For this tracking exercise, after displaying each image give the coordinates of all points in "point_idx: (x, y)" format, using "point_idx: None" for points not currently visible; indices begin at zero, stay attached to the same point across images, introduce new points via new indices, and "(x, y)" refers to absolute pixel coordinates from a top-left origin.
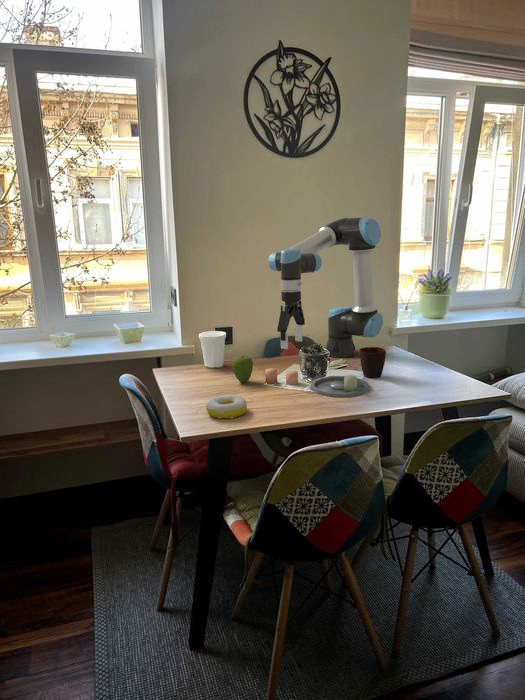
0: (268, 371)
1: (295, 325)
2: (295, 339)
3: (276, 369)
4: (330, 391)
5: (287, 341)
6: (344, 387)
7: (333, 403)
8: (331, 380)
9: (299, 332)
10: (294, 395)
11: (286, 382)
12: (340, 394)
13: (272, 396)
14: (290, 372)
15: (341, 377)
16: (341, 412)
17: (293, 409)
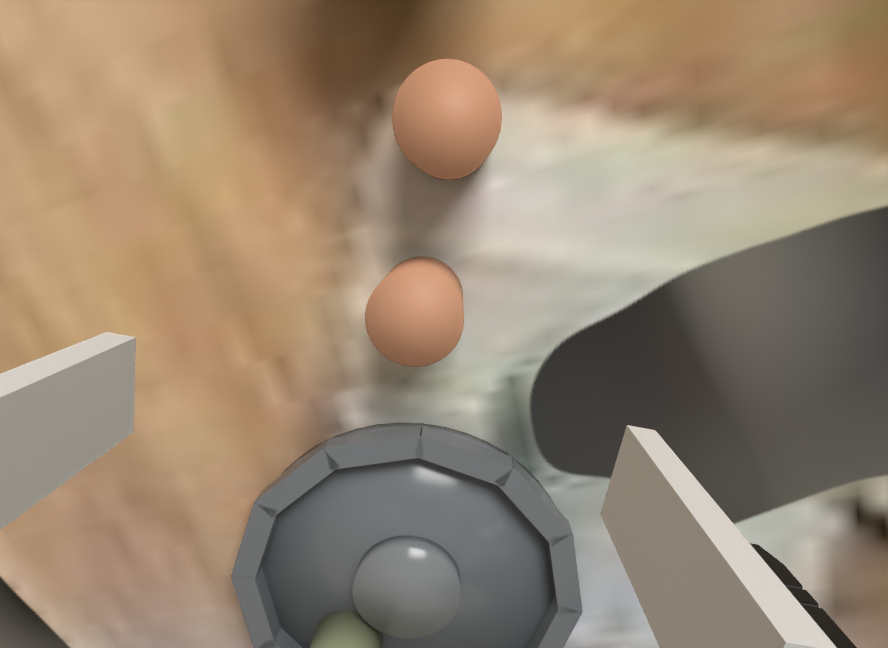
0: (395, 108)
1: (775, 640)
2: (635, 436)
3: (472, 164)
4: (322, 548)
5: (32, 491)
6: (323, 637)
7: (190, 570)
8: (529, 525)
9: (661, 589)
10: (240, 357)
11: (393, 269)
12: (245, 615)
13: (176, 229)
14: (411, 308)
15: (554, 587)
16: (88, 616)
17: None
